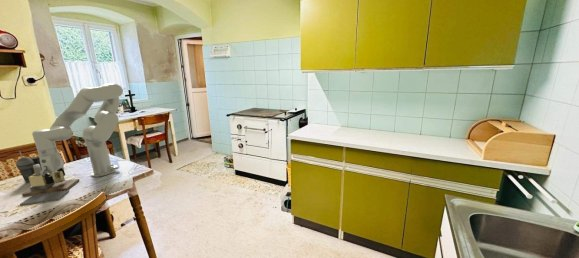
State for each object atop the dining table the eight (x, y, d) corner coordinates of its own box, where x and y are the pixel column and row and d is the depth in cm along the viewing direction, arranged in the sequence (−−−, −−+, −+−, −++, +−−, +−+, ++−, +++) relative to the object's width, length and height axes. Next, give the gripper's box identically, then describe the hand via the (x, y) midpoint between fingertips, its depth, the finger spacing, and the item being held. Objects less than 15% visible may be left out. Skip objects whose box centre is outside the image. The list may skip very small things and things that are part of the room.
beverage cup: (28, 184, 138) (17, 153, 133) (19, 183, 140) (8, 152, 135) (43, 179, 145) (33, 149, 140) (34, 178, 147) (24, 148, 142)
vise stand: (79, 181, 142) (72, 158, 138) (67, 190, 131) (59, 165, 127) (38, 186, 137) (30, 162, 133) (22, 196, 125) (13, 170, 122)
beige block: (31, 187, 128) (28, 177, 127) (39, 182, 134) (36, 172, 132) (60, 183, 131) (57, 173, 130) (66, 178, 137) (64, 169, 136)
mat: (69, 191, 129) (68, 190, 129) (58, 200, 121) (58, 198, 121) (33, 196, 125) (33, 195, 125) (20, 205, 117) (19, 204, 117)
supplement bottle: (29, 178, 147) (23, 160, 144) (34, 174, 153) (28, 157, 150) (43, 175, 150) (38, 158, 147) (48, 172, 156) (43, 155, 153)
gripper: (45, 156, 122) (54, 185, 126) (65, 145, 138) (73, 172, 142) (27, 157, 120) (37, 187, 124) (50, 147, 136) (58, 174, 140)
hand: (56, 179), depth 133 cm, fingers open, 9 cm apart
